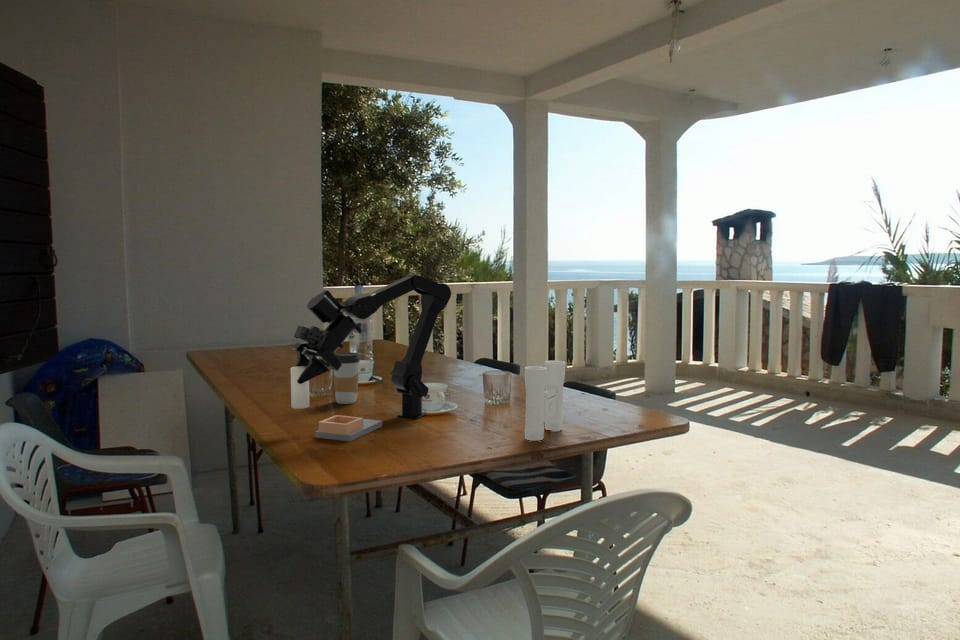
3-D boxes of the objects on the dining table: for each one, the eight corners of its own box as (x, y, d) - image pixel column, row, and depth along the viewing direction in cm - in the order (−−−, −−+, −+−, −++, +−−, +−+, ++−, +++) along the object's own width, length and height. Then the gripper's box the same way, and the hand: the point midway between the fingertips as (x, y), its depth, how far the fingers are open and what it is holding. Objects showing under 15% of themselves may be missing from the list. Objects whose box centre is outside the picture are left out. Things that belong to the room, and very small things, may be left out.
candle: (297, 404, 171) (297, 365, 170) (312, 405, 169) (312, 366, 168) (287, 407, 167) (287, 368, 166) (303, 409, 165) (302, 369, 164)
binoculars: (539, 443, 161) (540, 370, 160) (519, 440, 164) (520, 368, 163) (567, 428, 176) (568, 361, 175) (548, 425, 179) (549, 359, 177)
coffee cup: (356, 405, 202) (356, 356, 201) (329, 404, 202) (329, 355, 201) (362, 399, 210) (362, 352, 209) (336, 398, 210) (335, 352, 209)
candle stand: (349, 422, 180) (349, 408, 179) (382, 426, 176) (382, 411, 176) (315, 437, 165) (315, 421, 164) (350, 441, 161) (350, 425, 161)
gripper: (299, 311, 176) (258, 356, 170) (329, 316, 161) (286, 366, 155) (327, 339, 181) (289, 383, 175) (359, 346, 166) (318, 395, 161)
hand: (294, 381), depth 166 cm, fingers closed on candle, 4 cm apart
